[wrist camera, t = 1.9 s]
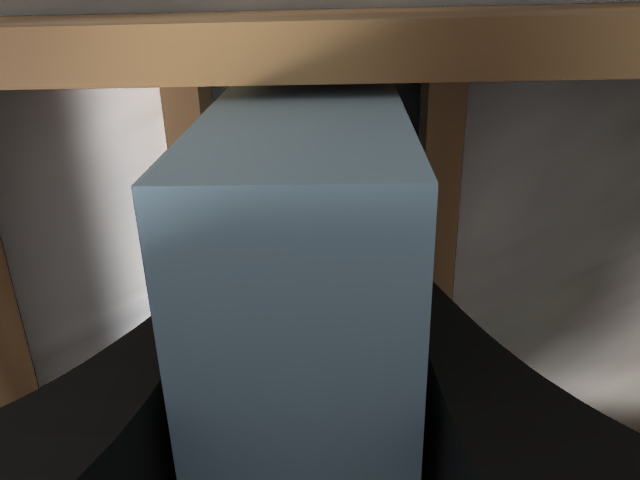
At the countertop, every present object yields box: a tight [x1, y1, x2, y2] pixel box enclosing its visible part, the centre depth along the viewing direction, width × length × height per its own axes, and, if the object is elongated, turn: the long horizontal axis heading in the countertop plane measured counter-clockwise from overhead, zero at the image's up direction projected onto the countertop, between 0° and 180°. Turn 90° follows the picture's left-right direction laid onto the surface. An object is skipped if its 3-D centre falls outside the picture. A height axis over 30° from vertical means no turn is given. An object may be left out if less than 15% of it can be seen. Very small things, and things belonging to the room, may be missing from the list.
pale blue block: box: [131, 83, 438, 480], centre depth 9 cm, size 2×8×6 cm, turn 1°
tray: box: [0, 2, 640, 407], centre depth 11 cm, size 20×10×2 cm, turn 91°
